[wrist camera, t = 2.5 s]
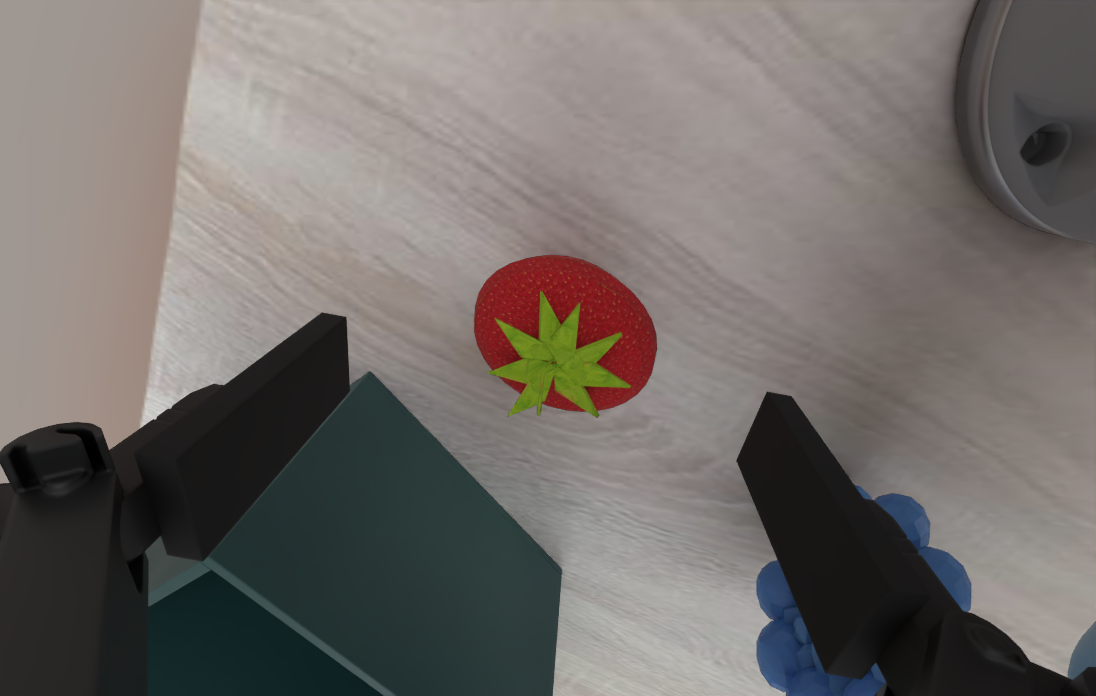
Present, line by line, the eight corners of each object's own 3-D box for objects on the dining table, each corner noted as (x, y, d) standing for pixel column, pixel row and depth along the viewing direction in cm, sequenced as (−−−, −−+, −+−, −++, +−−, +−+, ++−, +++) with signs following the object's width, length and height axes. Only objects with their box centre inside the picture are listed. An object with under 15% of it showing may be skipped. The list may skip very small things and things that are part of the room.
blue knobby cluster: (782, 593, 32) (876, 838, 21) (703, 550, 30) (760, 785, 20) (932, 488, 27) (1156, 740, 16) (844, 432, 26) (1023, 663, 15)
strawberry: (609, 366, 25) (617, 506, 16) (481, 305, 24) (413, 418, 15) (669, 271, 22) (717, 376, 14) (527, 199, 21) (479, 261, 13)
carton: (562, 569, 33) (544, 806, 21) (410, 631, 38) (332, 849, 26) (370, 370, 27) (207, 556, 15) (219, 476, 32) (15, 673, 20)
